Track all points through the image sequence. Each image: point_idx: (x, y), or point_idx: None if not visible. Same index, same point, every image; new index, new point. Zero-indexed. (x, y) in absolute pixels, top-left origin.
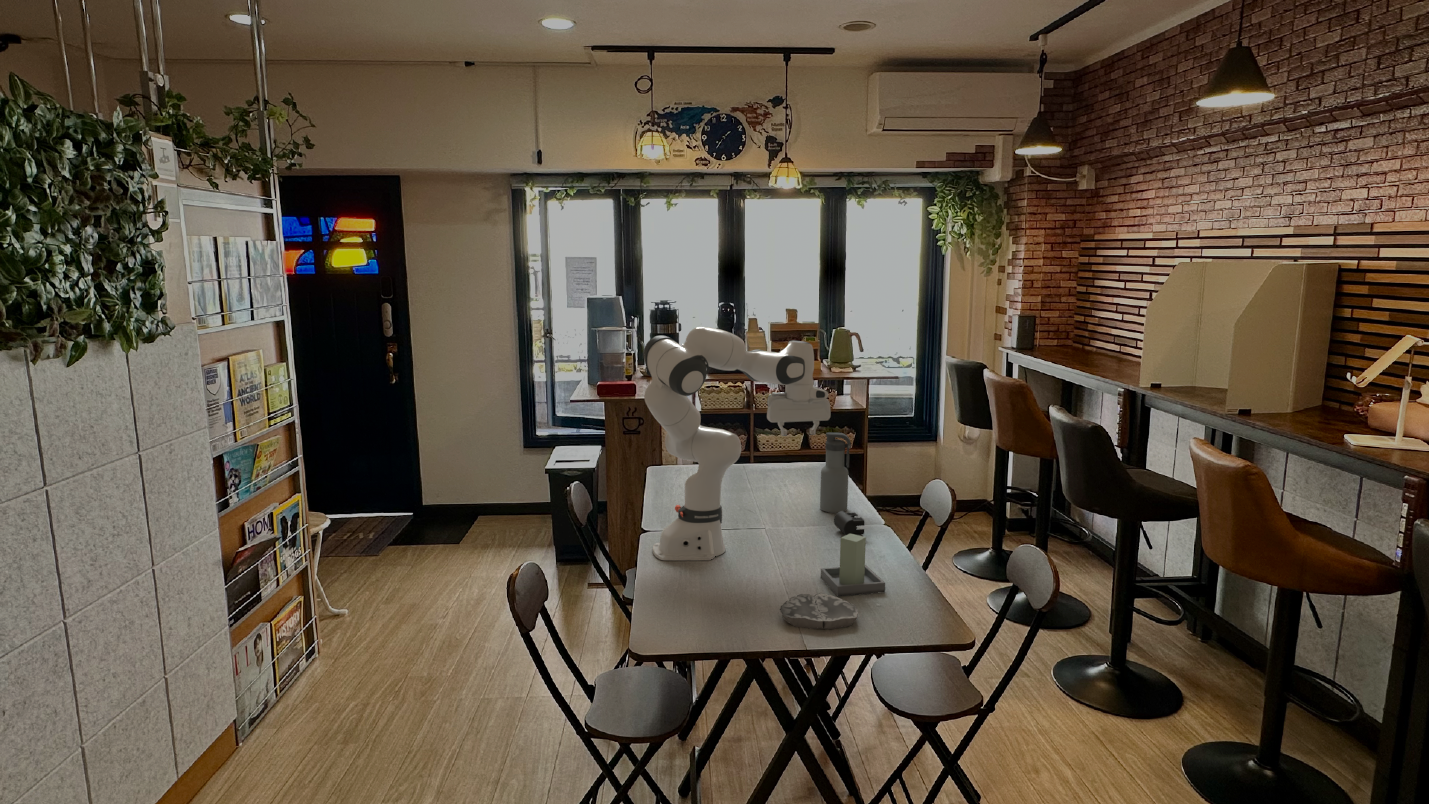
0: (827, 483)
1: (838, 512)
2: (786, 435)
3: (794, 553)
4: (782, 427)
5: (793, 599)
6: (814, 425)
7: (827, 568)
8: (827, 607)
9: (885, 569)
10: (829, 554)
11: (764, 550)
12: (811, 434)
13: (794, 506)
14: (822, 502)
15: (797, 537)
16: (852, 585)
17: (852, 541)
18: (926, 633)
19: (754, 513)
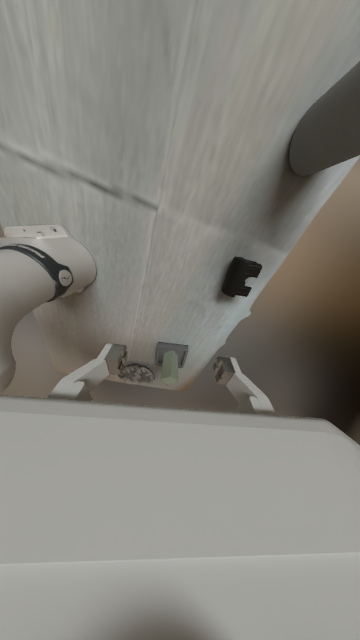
0: (337, 128)
1: (243, 262)
2: (125, 357)
3: (159, 301)
4: (91, 387)
5: (127, 368)
6: (242, 391)
7: (161, 347)
8: (141, 376)
9: (204, 343)
10: (185, 312)
11: (135, 285)
12: (214, 366)
13: (274, 55)
14: (300, 135)
15: (181, 262)
16: None
17: (165, 383)
18: (175, 387)
19: (168, 84)
